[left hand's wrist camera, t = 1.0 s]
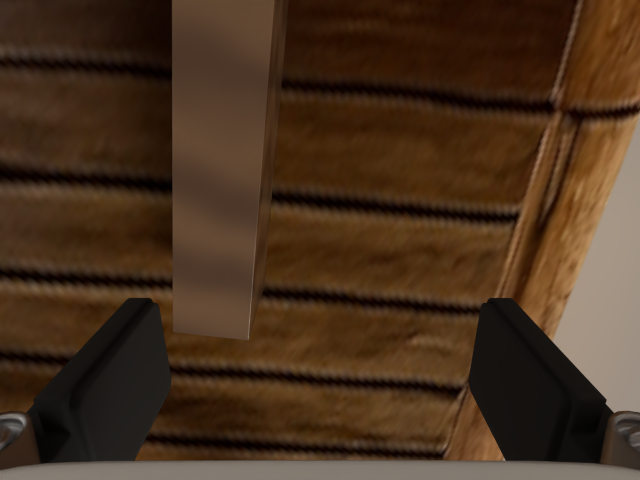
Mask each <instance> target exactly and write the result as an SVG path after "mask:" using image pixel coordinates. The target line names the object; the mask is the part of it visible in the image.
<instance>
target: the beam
mask: <svg viewBox="0 0 640 480" xmlns="http://www.w3.org/2000/svg"><path fill="white" fill-rule="evenodd" d="M288 4H289V0H172V169H173V332H178V333H187V334H196V335H206V336H215V337H224V338H233V339H243V340H249V337H250V333H251V330H252V326H253V323H254V320H255V316H256V313H257V310H258V306H259V303H260V299H261V296H262V293H263V289H264V279H265V268H266V256H267V245H268V233H269V222H270V210H271V199H272V187H273V176H274V164H275V153H276V141H277V130H278V118H279V107H280V95H281V84H282V72H283V61H284V49H285V38H286V27H287V15H288Z"/></svg>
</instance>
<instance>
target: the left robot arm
mask: <svg viewBox="0 0 640 480" xmlns="http://www.w3.org/2000/svg"><path fill="white" fill-rule="evenodd" d="M170 387H171V375H170V369H169V363H168V357H167V351H166V345H165V339H164V333H163V327H162V321H161V315H160V309H159V305H158V304H157V303H153V301H152V299H150V298H129V299H127V300H126V301H125V302H124V303H123V304H122V306H121V307H120V308H119V309H118V310H117V311H116V312H115V313H114V314H113V315H112V316H111V317H110V318H109V319H108V320H107V322H106V323H105V324H104V325H103V326H102V327H101V328H100V329H99V330H98V331H97V332H96V333H95V334H94V335H93V337H92V338H91V339H90V340H89V341H88V342H87V343H86V344H85V345H84V346H83V347H82V348H81V349H80V350H79V352H78V353H77V354H76V355H75V356H74V357H73V358H72V359H71V360H70V361H69V362H68V363H67V364H66V365H65V367H64V368H63V369H62V370H61V371H60V372H59V373H58V374H57V375H56V376H55V377H54V378H53V379H52V380H51V381H50V383H49V384H48V385H47V386H46V387H45V388H44V389H43V390H42V391H41V392H40V393H39V394H38V395H37V396H36V398H35V399H34V403H35V404H34V405H33V406H32V407H31V408H30V409H29V410H28V411H27V413H24V412H22V411H8V412H1V413H0V480H640V413H639V412H632V411H618V412H616V413H613V411H612V410H611V409H610V408H609V407H608V406H607V405H606V404H605V403H606V399H605V398H604V397H603V395H602V394H601V393H600V392H599V391H598V390H597V389H596V388H595V387H594V386H593V385H592V384H591V383H590V382H589V380H588V379H587V378H586V377H585V376H584V375H583V374H582V373H581V372H580V371H579V370H578V369H577V368H576V367H575V365H574V364H573V363H572V362H571V361H570V360H569V359H568V358H567V357H566V356H565V355H564V354H563V353H562V352H561V350H560V349H559V348H558V347H557V346H556V345H555V344H554V343H553V342H552V341H551V340H550V339H549V338H548V337H547V335H546V334H545V333H544V332H543V331H542V330H541V329H540V328H539V327H538V326H537V325H536V324H535V323H534V322H533V320H532V319H531V318H530V317H529V316H528V315H527V314H526V313H525V312H524V311H523V310H522V309H521V308H520V307H519V306H518V304H517V303H516V302H515V301H514V300H513V299H511V298H490V299H488V301H487V303H483V304H482V305H481V309H480V315H479V321H478V327H477V333H476V339H475V345H474V351H473V357H472V363H471V369H470V375H469V387H470V390H471V393H472V395H473V397H474V399H475V401H476V403H477V405H478V407H479V409H480V411H481V413H482V415H483V417H484V419H485V420H486V422H487V424H488V426H489V428H490V430H491V432H492V434H493V436H494V438H495V440H496V442H497V444H498V446H499V448H500V450H501V452H502V454H503V456H504V458H505V460H506V461H437V460H203V461H134V460H135V458H136V456H137V454H138V452H139V450H140V448H141V446H142V444H143V442H144V440H145V438H146V436H147V434H148V432H149V430H150V428H151V426H152V424H153V422H154V420H155V418H156V417H157V415H158V413H159V411H160V409H161V407H162V405H163V403H164V401H165V399H166V397H167V395H168V393H169V390H170Z"/></svg>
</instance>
